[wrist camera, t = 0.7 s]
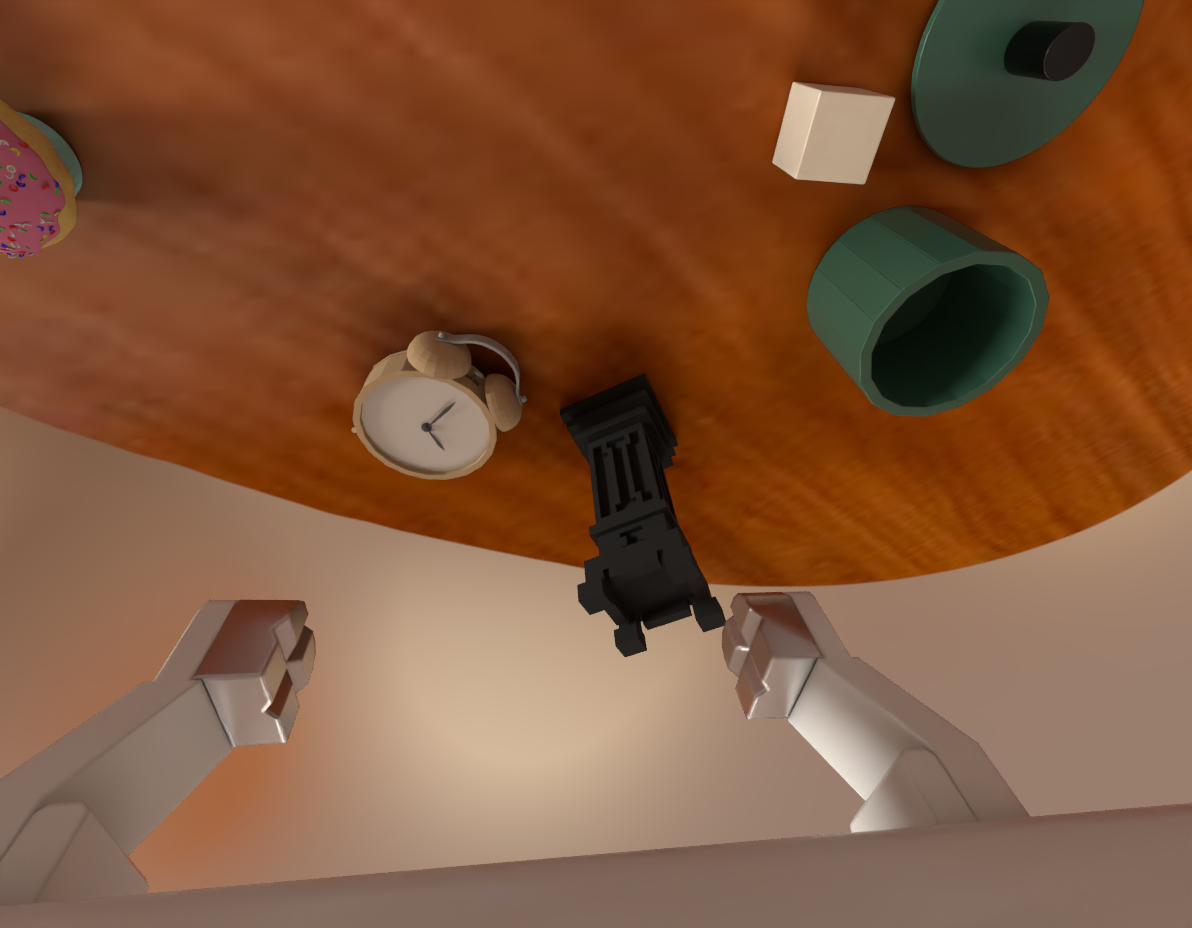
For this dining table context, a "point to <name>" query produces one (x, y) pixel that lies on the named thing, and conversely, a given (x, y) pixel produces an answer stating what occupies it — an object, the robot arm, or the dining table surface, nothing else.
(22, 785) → the robot arm
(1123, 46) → the lid
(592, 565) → the chess piece
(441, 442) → the alarm clock
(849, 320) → the green hollow cylinder
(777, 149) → the block
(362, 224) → the dining table surface
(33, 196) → the cupcake
